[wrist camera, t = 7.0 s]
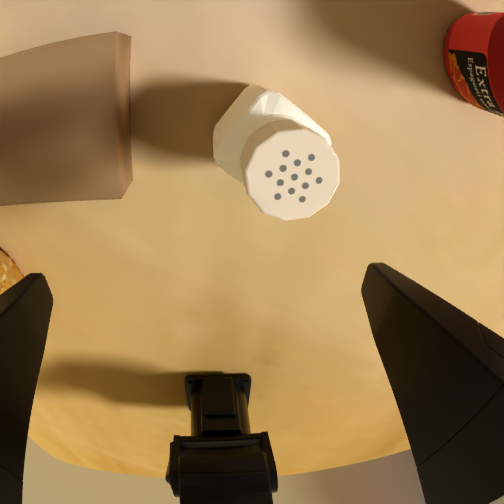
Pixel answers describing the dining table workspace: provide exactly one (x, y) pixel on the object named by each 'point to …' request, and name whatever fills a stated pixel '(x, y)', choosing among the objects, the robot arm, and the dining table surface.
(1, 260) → the bagel
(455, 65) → the canned food
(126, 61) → the walnut block
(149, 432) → the dining table surface
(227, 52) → the dining table surface
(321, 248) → the dining table surface
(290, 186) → the pepper shaker
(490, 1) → the dining table surface
